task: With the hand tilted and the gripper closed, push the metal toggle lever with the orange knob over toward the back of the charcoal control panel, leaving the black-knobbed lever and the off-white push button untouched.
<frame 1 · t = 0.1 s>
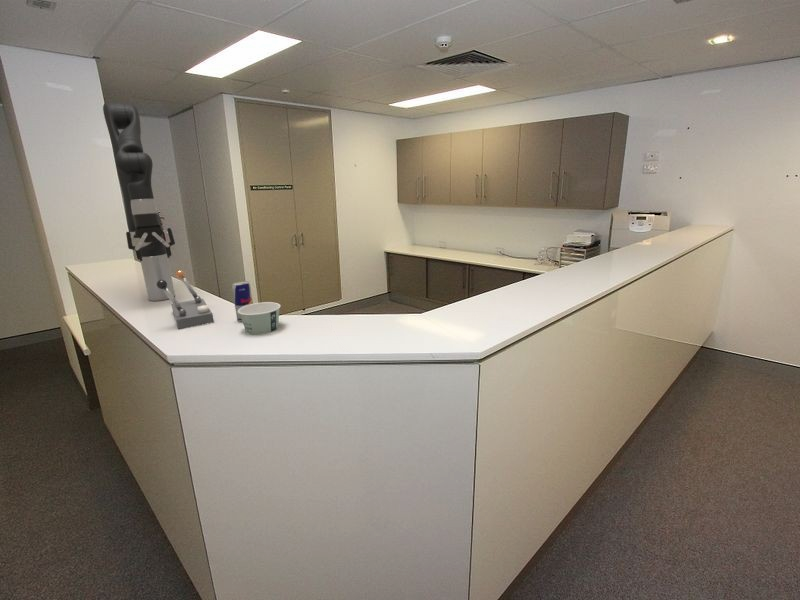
hand: (155, 259, 146), 17 cm above the table, tool pointing down, fingers open, 8 cm apart
push button: (203, 308, 130), point 4 cm above the table, slide at 0.0 cm
black knob lever: (171, 297, 124), point 9 cm above the table, hinge at 22.0°
food container: (262, 329, 121), on the table
control panel: (192, 316, 135), on the table
orange knob lever: (188, 286, 138), point 9 cm above the table, hinge at 22.0°
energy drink: (246, 320, 130), on the table
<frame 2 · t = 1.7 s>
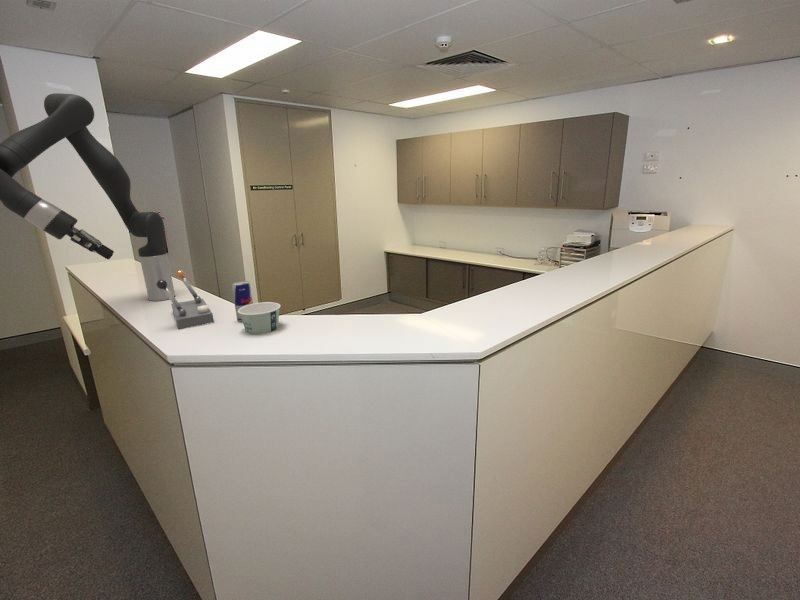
hand: (111, 255, 125), 22 cm above the table, tool tilted 45°, fingers open, 6 cm apart
nothing on the table moved.
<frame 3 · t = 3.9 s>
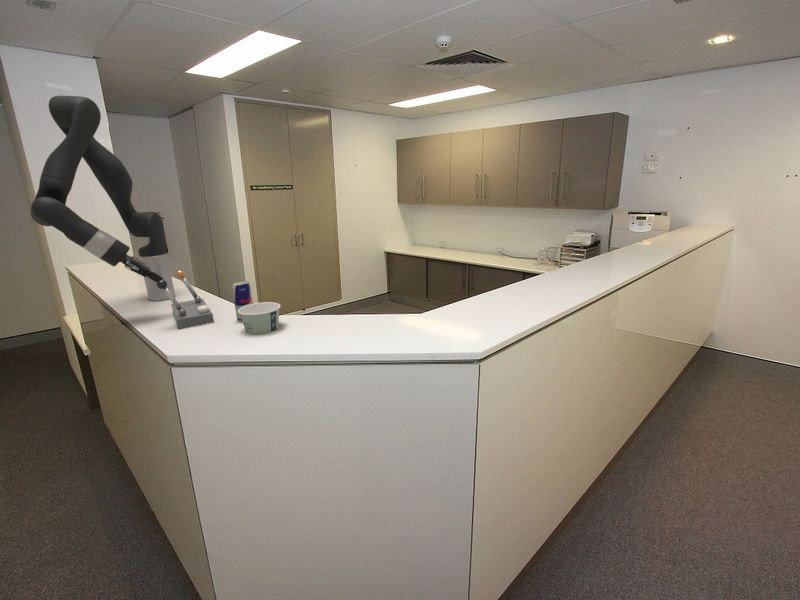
hand: (161, 280, 134), 12 cm above the table, tool tilted 45°, fingers closed
nothing on the table moved.
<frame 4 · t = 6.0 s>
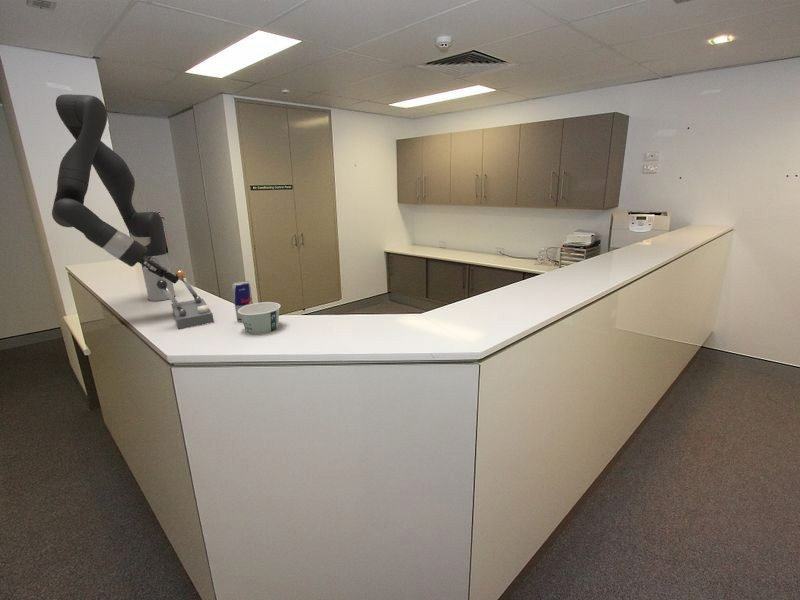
hand: (176, 280, 136), 12 cm above the table, tool tilted 45°, fingers closed
orange knob lever: (188, 286, 138), point 9 cm above the table, hinge at 22.0°, touching gripper
everything else where it was.
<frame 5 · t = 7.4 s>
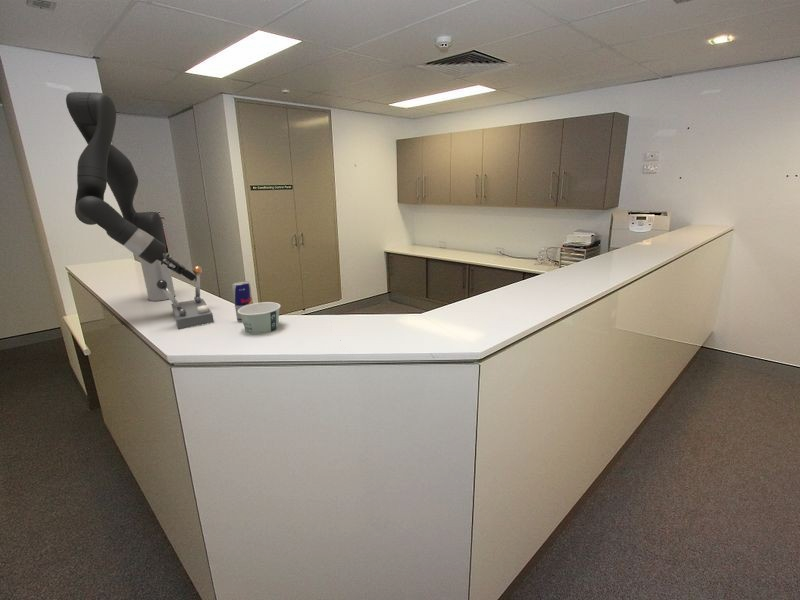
hand: (194, 278, 139), 12 cm above the table, tool tilted 45°, fingers closed
orange knob lever: (197, 284, 140), point 9 cm above the table, hinge at -8.8°, touching gripper
everything else where it was.
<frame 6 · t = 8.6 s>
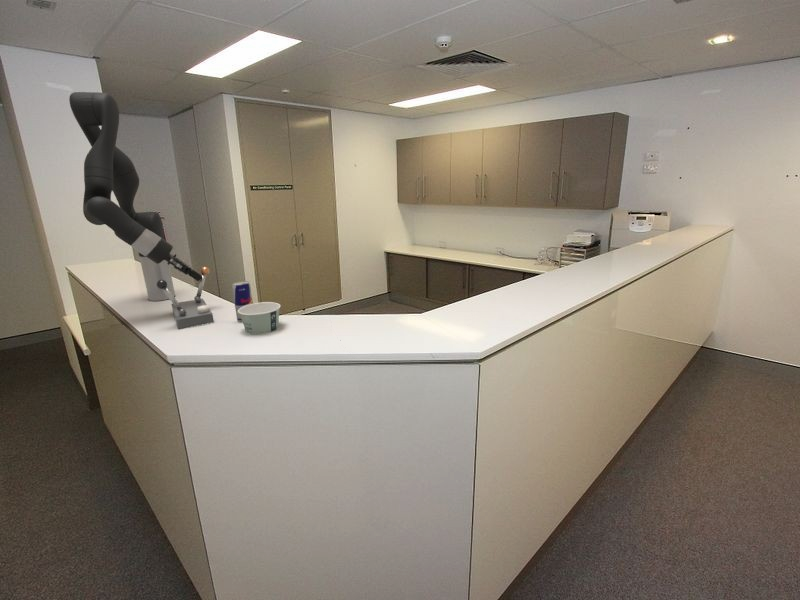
hand: (200, 278, 140), 11 cm above the table, tool tilted 45°, fingers closed
orange knob lever: (201, 284, 140), point 9 cm above the table, hinge at -22.0°, touching gripper
everything else where it was.
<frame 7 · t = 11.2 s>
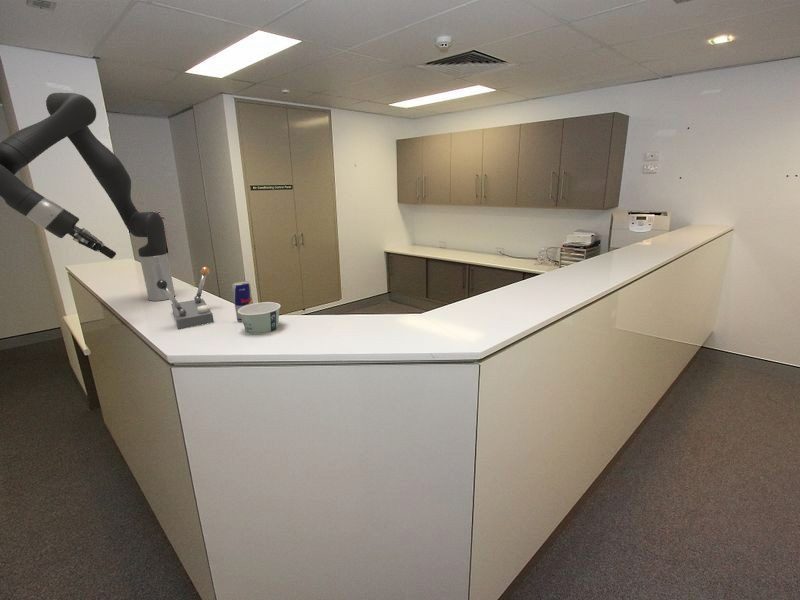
hand: (114, 256, 126), 22 cm above the table, tool tilted 45°, fingers closed
orange knob lever: (201, 284, 140), point 9 cm above the table, hinge at -22.0°
everything else where it was.
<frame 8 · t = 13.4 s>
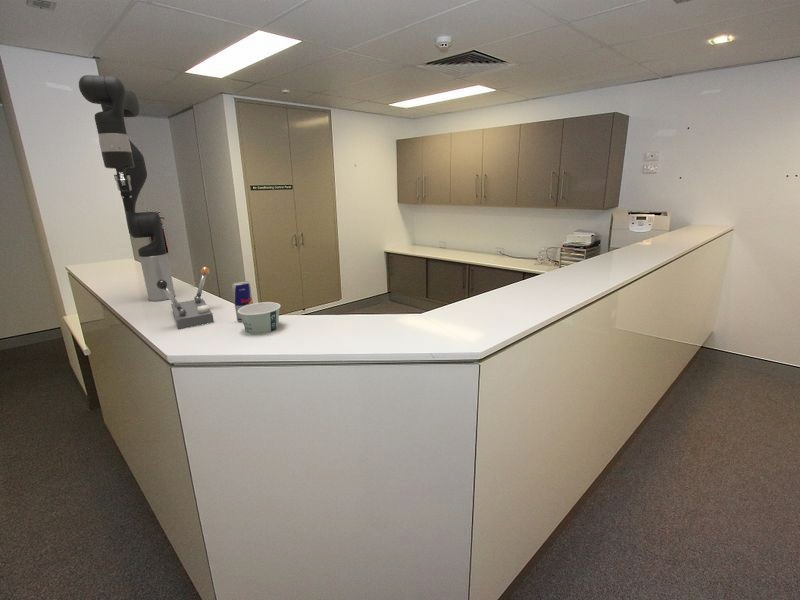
hand: (129, 211, 125), 35 cm above the table, tool pointing down, fingers closed
nothing on the table moved.
at the end: orange knob lever at -22° (first picture: +22°); black knob lever at +22° (first picture: +22°); push button slide at 0.0 cm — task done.
